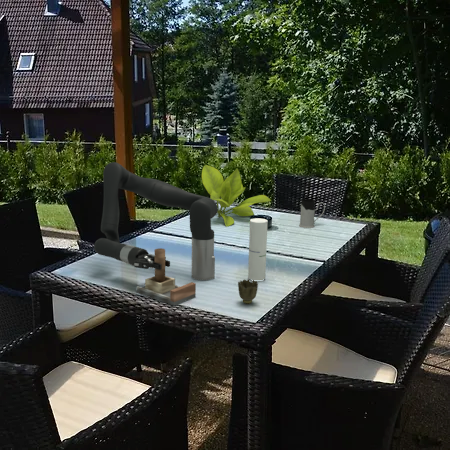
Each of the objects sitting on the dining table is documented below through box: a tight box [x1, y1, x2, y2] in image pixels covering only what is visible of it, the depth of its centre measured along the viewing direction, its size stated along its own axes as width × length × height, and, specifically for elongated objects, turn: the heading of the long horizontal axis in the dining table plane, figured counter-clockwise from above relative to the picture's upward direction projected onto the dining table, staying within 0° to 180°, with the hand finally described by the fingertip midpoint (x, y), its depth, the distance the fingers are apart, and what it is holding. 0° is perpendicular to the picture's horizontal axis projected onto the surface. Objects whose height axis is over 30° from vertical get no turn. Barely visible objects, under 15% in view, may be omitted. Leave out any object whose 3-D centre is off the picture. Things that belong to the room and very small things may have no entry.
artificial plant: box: [201, 164, 272, 228], centre depth 331 cm, size 42×43×30 cm
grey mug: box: [298, 198, 326, 229], centre depth 319 cm, size 9×14×15 cm, turn 96°
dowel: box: [154, 248, 166, 283], centre depth 214 cm, size 4×4×14 cm
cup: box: [237, 279, 259, 305], centre depth 208 cm, size 8×7×8 cm
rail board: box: [136, 281, 197, 307], centre depth 214 cm, size 20×12×6 cm, turn 51°
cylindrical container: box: [247, 217, 268, 280], centre depth 231 cm, size 7×7×25 cm
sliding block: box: [144, 275, 176, 294], centre depth 216 cm, size 8×8×4 cm
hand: (165, 265), depth 212 cm, fingers closed on dowel, 4 cm apart
